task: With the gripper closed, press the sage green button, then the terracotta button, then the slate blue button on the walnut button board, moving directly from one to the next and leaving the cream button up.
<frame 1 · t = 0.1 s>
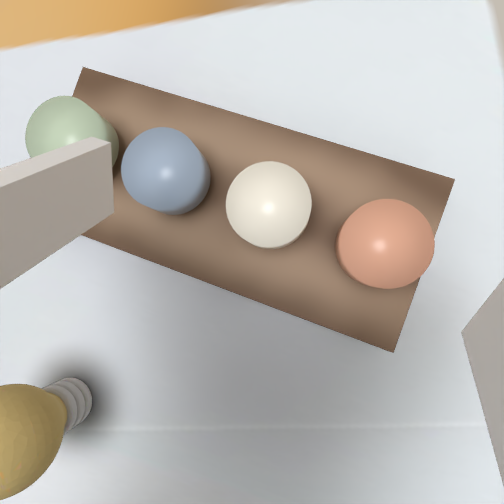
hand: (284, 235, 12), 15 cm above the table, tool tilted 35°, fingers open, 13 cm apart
sage button: (74, 141, 23), point 6 cm above the table, slide at 0.0 cm
terracotta button: (381, 245, 21), point 6 cm above the table, slide at 0.0 cm
light bulb: (76, 397, 29), on the table
slate button: (167, 173, 22), point 6 cm above the table, slide at 0.0 cm
button board: (233, 206, 27), on the table
cream button: (269, 207, 21), point 6 cm above the table, slide at 0.0 cm
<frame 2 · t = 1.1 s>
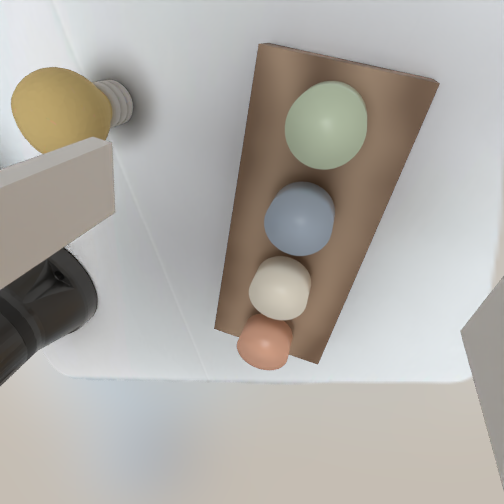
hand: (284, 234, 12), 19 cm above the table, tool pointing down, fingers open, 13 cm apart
sage button: (326, 125, 23), point 6 cm above the table, slide at 0.0 cm
terracotta button: (265, 341, 34), point 6 cm above the table, slide at 0.0 cm
light bulb: (119, 101, 32), on the table
slate button: (300, 218, 26), point 6 cm above the table, slide at 0.0 cm
button board: (300, 225, 33), on the table
cream button: (280, 288, 30), point 6 cm above the table, slide at 0.0 cm
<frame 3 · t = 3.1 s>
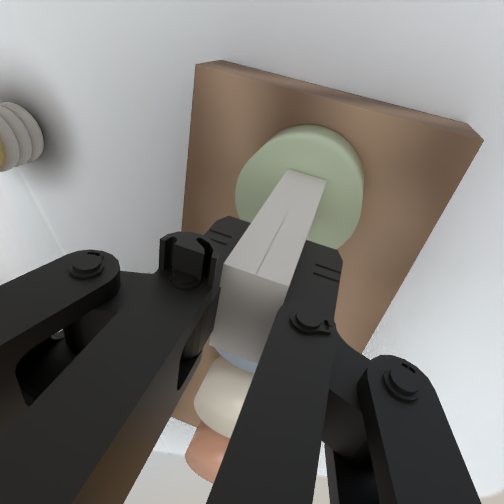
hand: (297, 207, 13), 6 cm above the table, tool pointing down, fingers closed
sage button: (301, 192, 15), point 5 cm above the table, slide at 0.9 cm, touching gripper
terracotta button: (223, 450, 26), point 6 cm above the table, slide at 0.0 cm
light bulb: (28, 129, 23), on the table
slate button: (261, 321, 18), point 6 cm above the table, slide at 0.0 cm
button board: (272, 302, 24), on the table
cream button: (239, 397, 22), point 6 cm above the table, slide at 0.0 cm
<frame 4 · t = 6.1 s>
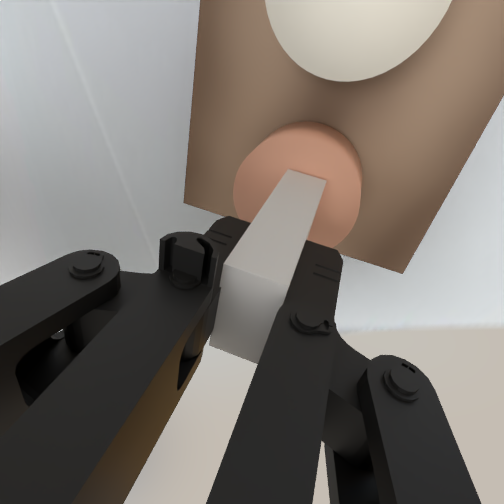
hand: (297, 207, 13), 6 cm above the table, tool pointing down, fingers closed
terracotta button: (299, 189, 15), point 5 cm above the table, slide at 0.7 cm, touching gripper
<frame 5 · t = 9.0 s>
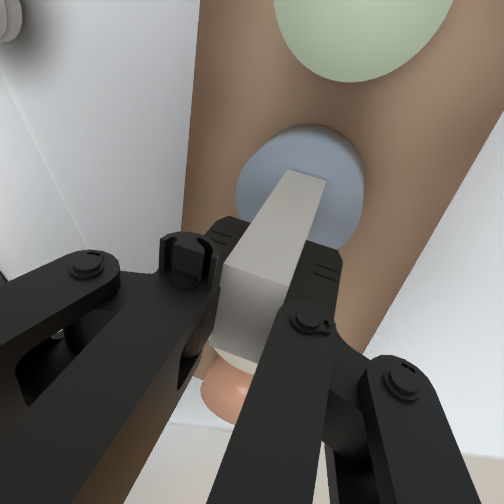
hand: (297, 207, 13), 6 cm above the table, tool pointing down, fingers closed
terracotta button: (244, 385, 23), point 5 cm above the table, slide at 1.0 cm
light bulb: (4, 2, 19), on the table
slate button: (301, 192, 15), point 5 cm above the table, slide at 1.0 cm, touching gripper
button board: (299, 217, 20), on the table
cream button: (261, 322, 18), point 6 cm above the table, slide at 0.0 cm
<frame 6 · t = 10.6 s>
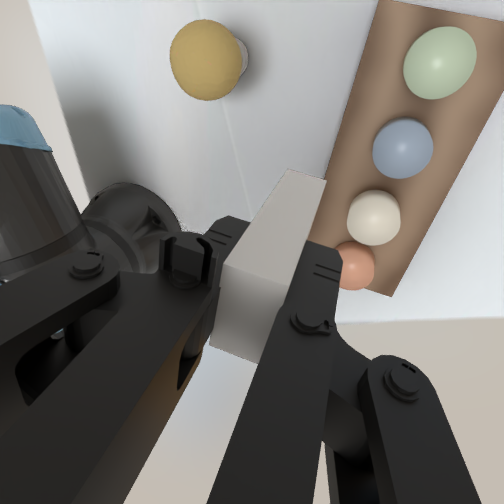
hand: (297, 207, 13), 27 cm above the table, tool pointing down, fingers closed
sage button: (437, 63, 28), point 5 cm above the table, slide at 1.0 cm
terracotta button: (351, 266, 40), point 5 cm above the table, slide at 1.0 cm
light bulb: (234, 57, 37), on the table
slate button: (401, 147, 32), point 5 cm above the table, slide at 1.0 cm
button board: (386, 168, 38), on the table
cream button: (373, 217, 35), point 6 cm above the table, slide at 0.0 cm
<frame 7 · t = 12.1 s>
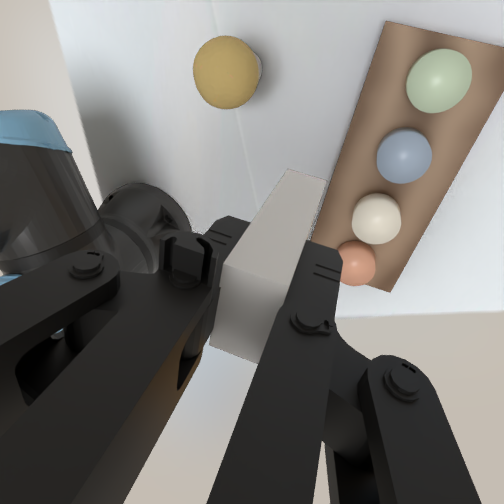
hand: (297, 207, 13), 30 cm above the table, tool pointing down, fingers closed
sage button: (436, 81, 31), point 5 cm above the table, slide at 1.0 cm
terracotta button: (354, 263, 43), point 5 cm above the table, slide at 1.0 cm
light bulb: (248, 68, 40), on the table
slate button: (402, 155, 35), point 5 cm above the table, slide at 1.0 cm
button board: (387, 173, 41), on the table
cream button: (376, 218, 38), point 6 cm above the table, slide at 0.0 cm
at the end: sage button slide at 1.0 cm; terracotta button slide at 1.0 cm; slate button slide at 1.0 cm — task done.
